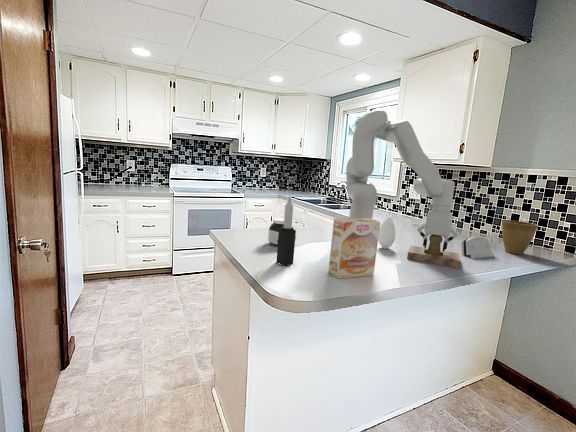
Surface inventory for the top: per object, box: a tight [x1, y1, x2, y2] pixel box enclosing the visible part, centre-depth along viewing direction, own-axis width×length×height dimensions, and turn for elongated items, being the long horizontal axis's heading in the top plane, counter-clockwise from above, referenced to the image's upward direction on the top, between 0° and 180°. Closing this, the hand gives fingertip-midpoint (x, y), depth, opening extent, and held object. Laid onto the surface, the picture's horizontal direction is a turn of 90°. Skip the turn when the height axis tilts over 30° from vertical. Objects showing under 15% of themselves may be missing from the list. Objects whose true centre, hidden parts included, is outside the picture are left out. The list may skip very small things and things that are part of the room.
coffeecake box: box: [327, 217, 382, 280], centre depth 109 cm, size 15×7×20 cm, turn 114°
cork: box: [427, 235, 444, 256], centre depth 137 cm, size 6×6×11 cm
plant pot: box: [501, 219, 539, 255], centre depth 162 cm, size 15×15×16 cm
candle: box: [276, 195, 297, 266], centre depth 115 cm, size 5×5×25 cm
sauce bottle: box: [378, 211, 397, 250], centre depth 150 cm, size 8×8×18 cm
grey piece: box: [461, 236, 495, 259], centre depth 152 cm, size 17×5×10 cm, turn 114°
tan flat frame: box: [406, 245, 461, 269], centre depth 138 cm, size 20×14×3 cm
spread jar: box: [267, 217, 297, 247], centre depth 143 cm, size 12×11×12 cm
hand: (434, 248), depth 137 cm, fingers open, 6 cm apart
